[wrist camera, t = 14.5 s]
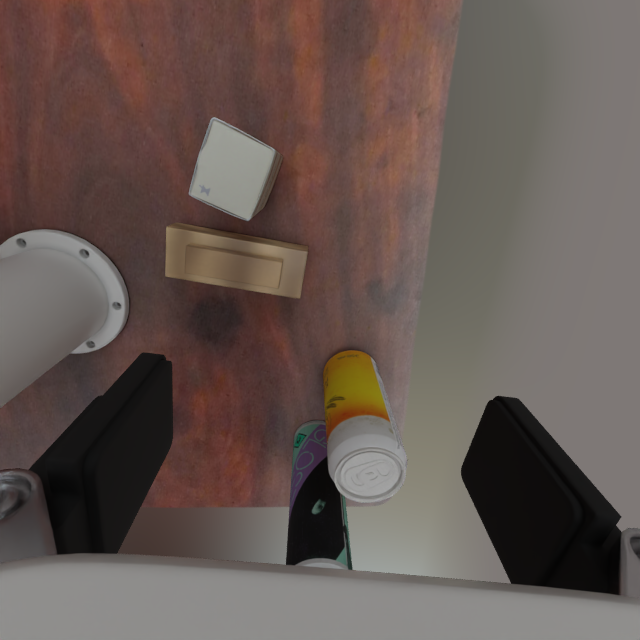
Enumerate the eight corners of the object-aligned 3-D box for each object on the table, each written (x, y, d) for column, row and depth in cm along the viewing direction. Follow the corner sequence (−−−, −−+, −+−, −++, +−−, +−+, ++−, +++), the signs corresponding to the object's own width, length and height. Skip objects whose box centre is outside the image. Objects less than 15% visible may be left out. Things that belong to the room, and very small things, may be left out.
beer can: (313, 361, 40) (314, 465, 26) (362, 337, 39) (390, 432, 25) (338, 401, 42) (351, 516, 28) (386, 379, 41) (423, 488, 27)
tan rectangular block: (179, 265, 35) (159, 280, 31) (181, 220, 34) (160, 228, 29) (301, 286, 36) (299, 303, 32) (308, 243, 35) (307, 255, 30)
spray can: (319, 412, 43) (325, 600, 24) (347, 440, 44) (373, 635, 26) (284, 436, 44) (265, 632, 26) (313, 462, 46) (315, 663, 27)
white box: (265, 209, 33) (247, 226, 24) (219, 188, 33) (183, 197, 23) (287, 153, 32) (278, 149, 22) (240, 129, 31) (209, 114, 22)
